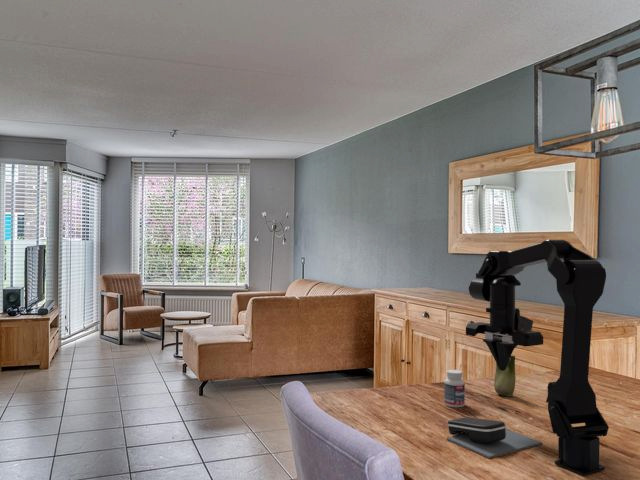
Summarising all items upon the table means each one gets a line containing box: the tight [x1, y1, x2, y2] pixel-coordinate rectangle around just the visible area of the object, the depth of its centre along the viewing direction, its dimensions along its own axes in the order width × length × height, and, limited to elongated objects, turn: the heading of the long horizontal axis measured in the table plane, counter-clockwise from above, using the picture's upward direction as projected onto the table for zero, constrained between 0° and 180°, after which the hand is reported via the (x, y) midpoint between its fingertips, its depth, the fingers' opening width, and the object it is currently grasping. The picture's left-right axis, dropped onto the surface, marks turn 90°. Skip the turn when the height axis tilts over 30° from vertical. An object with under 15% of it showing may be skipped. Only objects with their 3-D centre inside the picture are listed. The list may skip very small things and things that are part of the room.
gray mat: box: [446, 428, 543, 459], centre depth 117 cm, size 12×16×1 cm
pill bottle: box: [443, 369, 466, 408], centre depth 145 cm, size 5×5×9 cm
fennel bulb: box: [493, 354, 517, 397], centre depth 154 cm, size 6×5×12 cm
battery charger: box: [447, 416, 507, 443], centre depth 118 cm, size 7×4×11 cm
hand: (502, 370), depth 128 cm, fingers closed
